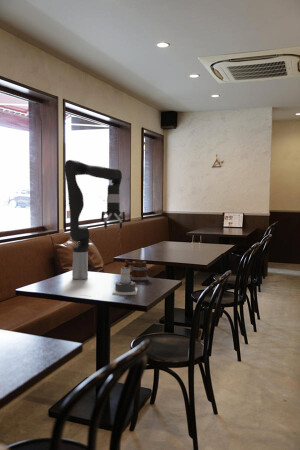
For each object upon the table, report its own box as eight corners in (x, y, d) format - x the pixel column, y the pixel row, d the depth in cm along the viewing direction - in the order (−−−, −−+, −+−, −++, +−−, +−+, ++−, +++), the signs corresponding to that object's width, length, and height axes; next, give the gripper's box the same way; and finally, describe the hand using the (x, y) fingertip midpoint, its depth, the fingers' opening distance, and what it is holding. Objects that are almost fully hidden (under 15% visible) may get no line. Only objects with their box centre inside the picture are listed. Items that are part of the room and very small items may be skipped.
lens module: (120, 290, 227) (120, 268, 226) (121, 288, 232) (121, 267, 231) (129, 291, 227) (129, 268, 226) (129, 289, 232) (130, 267, 231)
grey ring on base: (112, 294, 223) (112, 285, 222) (114, 288, 236) (114, 280, 235) (136, 294, 223) (136, 285, 222) (137, 289, 236) (137, 280, 235)
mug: (149, 282, 254) (145, 258, 253) (126, 285, 254) (122, 261, 253) (150, 278, 266) (146, 255, 265) (128, 281, 266) (124, 258, 265)
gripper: (125, 201, 252) (125, 228, 253) (102, 201, 252) (102, 228, 253) (124, 202, 244) (124, 229, 246) (100, 201, 245) (100, 229, 246)
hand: (113, 228), depth 250 cm, fingers open, 8 cm apart
